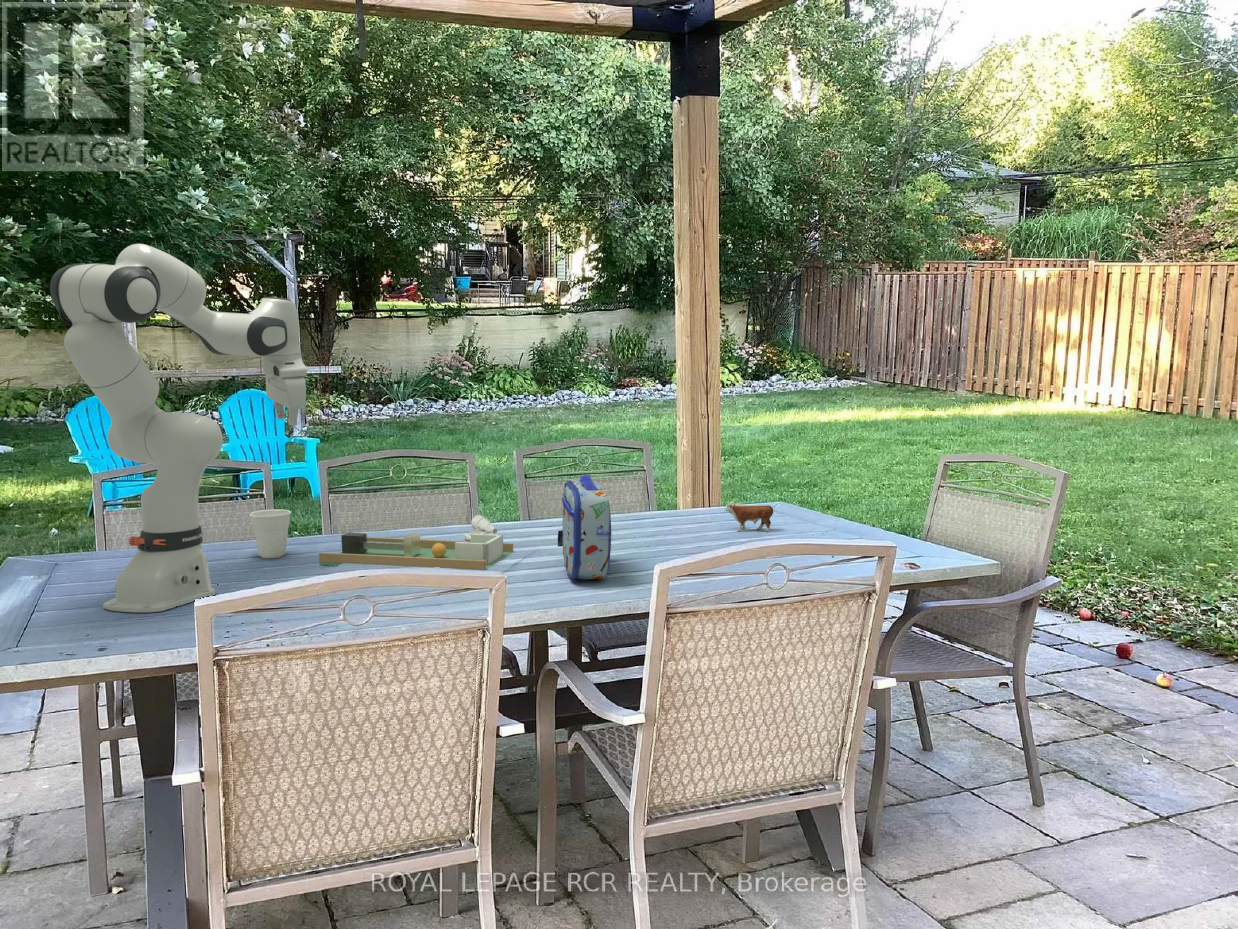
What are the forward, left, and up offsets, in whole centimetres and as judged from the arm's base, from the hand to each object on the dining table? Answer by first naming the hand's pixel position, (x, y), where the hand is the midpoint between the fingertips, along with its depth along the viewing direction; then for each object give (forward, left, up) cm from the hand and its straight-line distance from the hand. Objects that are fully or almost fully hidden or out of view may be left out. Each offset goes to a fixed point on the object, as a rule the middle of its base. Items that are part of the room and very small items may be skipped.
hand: (286, 421), depth 244 cm
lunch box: (+2, -74, -34) cm, 81 cm away
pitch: (+5, -31, -34) cm, 46 cm away
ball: (+5, -36, -33) cm, 49 cm away
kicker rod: (+5, -21, -33) cm, 39 cm away
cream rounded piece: (+27, -39, -34) cm, 58 cm away
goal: (+5, -47, -34) cm, 58 cm away
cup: (+2, +7, -34) cm, 35 cm away
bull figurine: (+58, -106, -34) cm, 126 cm away
